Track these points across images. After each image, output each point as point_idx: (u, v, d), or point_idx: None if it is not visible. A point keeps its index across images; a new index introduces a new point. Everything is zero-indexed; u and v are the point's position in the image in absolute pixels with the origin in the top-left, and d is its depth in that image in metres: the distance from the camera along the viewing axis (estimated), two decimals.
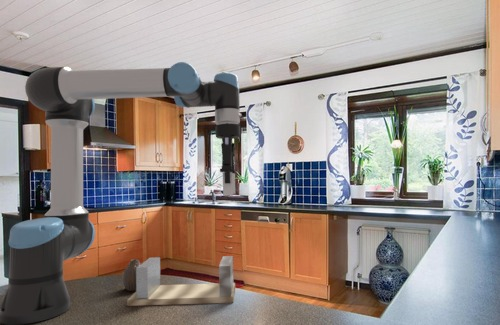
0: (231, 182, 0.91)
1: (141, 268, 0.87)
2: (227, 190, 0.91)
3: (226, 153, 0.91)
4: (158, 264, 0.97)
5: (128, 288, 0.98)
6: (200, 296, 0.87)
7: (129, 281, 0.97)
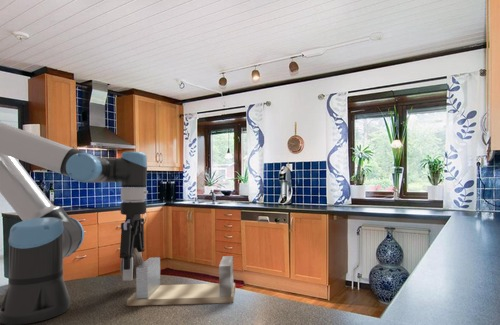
0: (131, 268, 0.97)
1: (141, 268, 0.87)
2: (127, 275, 0.96)
3: (124, 241, 0.95)
4: (158, 264, 0.97)
5: None
6: (200, 296, 0.87)
7: None
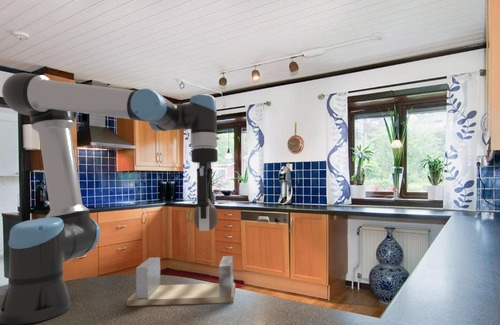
0: (207, 217, 0.90)
1: (141, 268, 0.87)
2: (203, 225, 0.89)
3: (201, 187, 0.88)
4: (158, 264, 0.97)
5: None
6: (200, 296, 0.87)
7: None
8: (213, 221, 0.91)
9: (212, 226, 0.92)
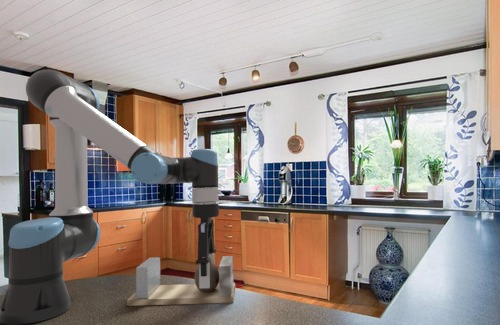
0: (208, 274, 0.87)
1: (141, 268, 0.87)
2: (203, 282, 0.87)
3: (202, 244, 0.86)
4: (158, 264, 0.97)
5: (202, 289, 0.90)
6: (200, 296, 0.87)
7: None
8: (214, 283, 0.90)
9: (213, 288, 0.90)
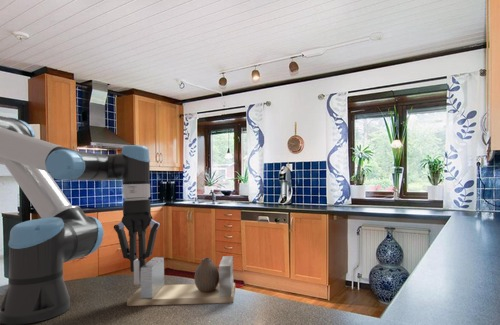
0: (134, 271, 0.92)
1: (145, 268, 0.87)
2: None
3: None
4: (162, 264, 0.97)
5: (202, 289, 0.90)
6: (200, 296, 0.87)
7: (204, 281, 0.89)
8: (214, 283, 0.90)
9: (213, 288, 0.90)
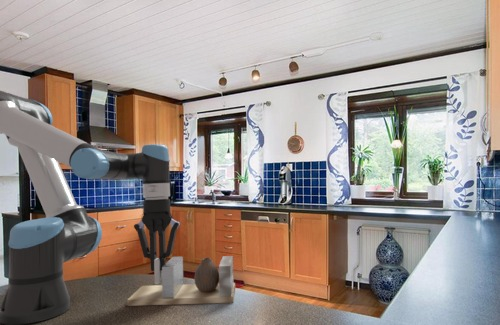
0: None
1: (167, 267, 0.87)
2: None
3: None
4: (181, 263, 0.97)
5: (202, 289, 0.90)
6: (200, 296, 0.87)
7: (204, 281, 0.89)
8: (214, 283, 0.90)
9: (213, 288, 0.90)
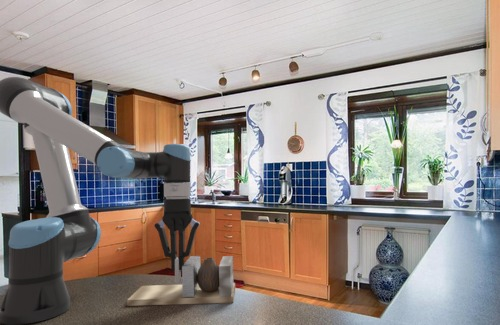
0: (175, 269, 0.92)
1: (187, 267, 0.87)
2: None
3: None
4: (199, 263, 0.97)
5: (205, 289, 0.90)
6: (200, 296, 0.87)
7: (206, 281, 0.89)
8: (217, 283, 0.90)
9: (216, 288, 0.90)
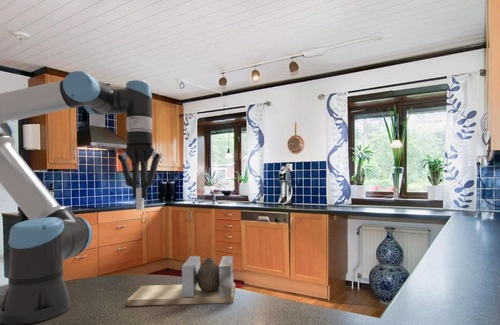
0: None
1: (187, 267, 0.87)
2: None
3: None
4: (199, 263, 0.97)
5: (205, 289, 0.90)
6: (200, 296, 0.87)
7: (206, 281, 0.89)
8: (217, 283, 0.90)
9: (216, 288, 0.90)
